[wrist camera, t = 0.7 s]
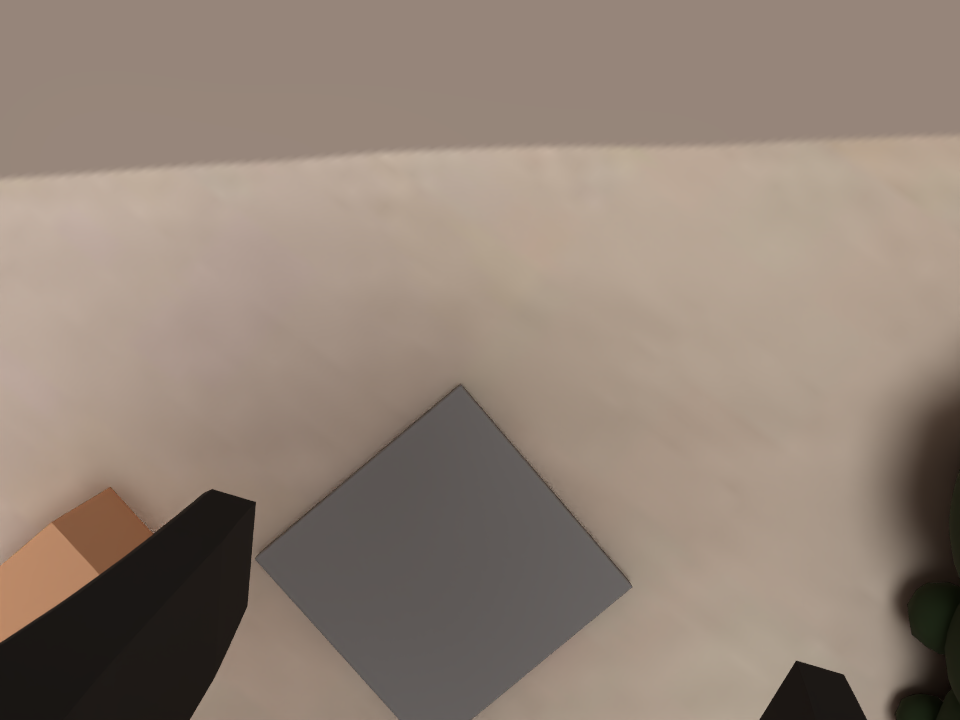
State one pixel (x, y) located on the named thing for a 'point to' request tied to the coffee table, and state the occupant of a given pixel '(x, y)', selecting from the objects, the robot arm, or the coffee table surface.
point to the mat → (444, 566)
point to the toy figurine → (938, 632)
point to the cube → (66, 558)
